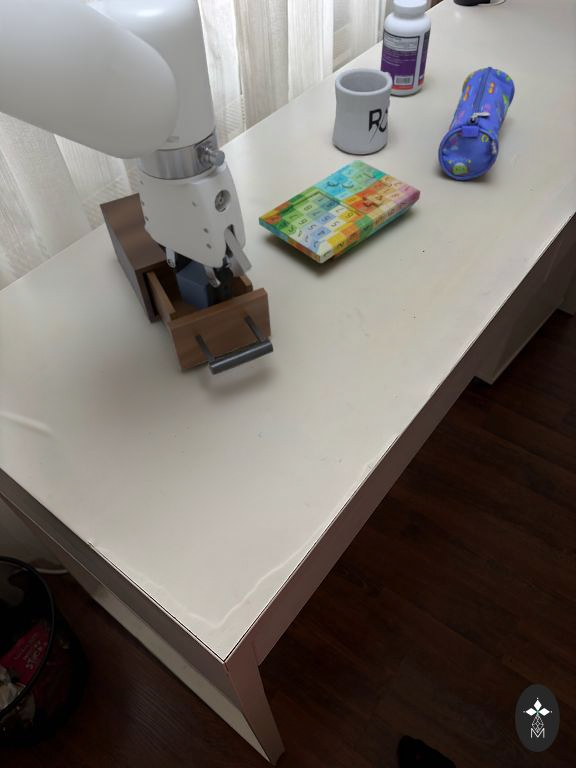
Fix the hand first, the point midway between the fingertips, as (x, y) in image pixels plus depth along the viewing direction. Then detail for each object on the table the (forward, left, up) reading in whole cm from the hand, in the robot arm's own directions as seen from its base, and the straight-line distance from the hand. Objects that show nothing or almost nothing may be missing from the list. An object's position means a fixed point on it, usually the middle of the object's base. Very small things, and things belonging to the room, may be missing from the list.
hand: (205, 295), depth 67 cm
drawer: (0, -1, -5) cm, 5 cm away
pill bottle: (+55, +41, -6) cm, 69 cm away
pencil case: (+53, +18, -6) cm, 56 cm away
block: (0, 0, 0) cm, 0 cm away
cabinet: (0, +12, -6) cm, 14 cm away
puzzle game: (+24, +10, -6) cm, 27 cm away
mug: (+40, +29, -6) cm, 50 cm away
